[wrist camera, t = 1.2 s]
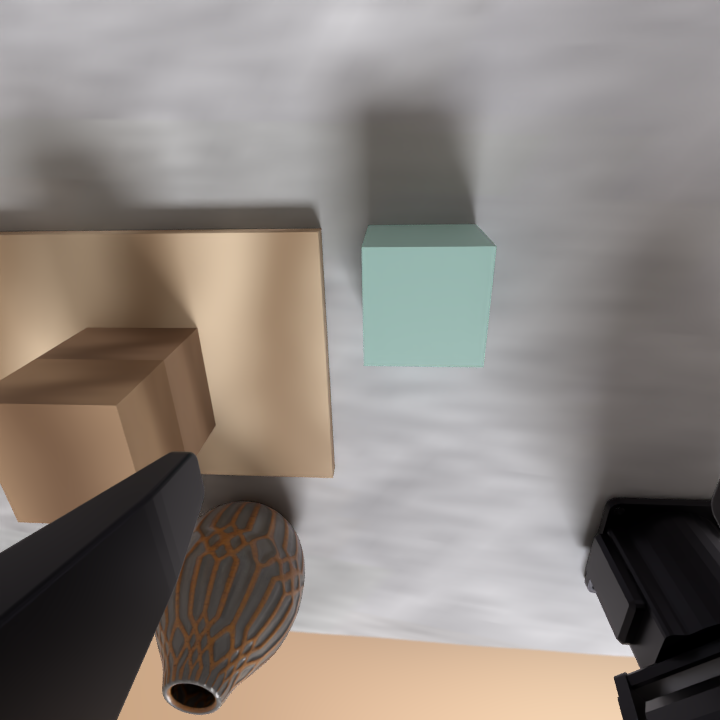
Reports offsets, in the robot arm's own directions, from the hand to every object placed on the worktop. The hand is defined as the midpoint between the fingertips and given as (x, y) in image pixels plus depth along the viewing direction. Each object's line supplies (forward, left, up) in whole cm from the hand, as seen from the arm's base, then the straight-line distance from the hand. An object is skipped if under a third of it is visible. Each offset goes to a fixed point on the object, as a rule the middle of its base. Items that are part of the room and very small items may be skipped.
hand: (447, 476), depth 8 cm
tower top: (+12, +4, -8) cm, 15 cm away
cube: (0, 0, -12) cm, 12 cm away
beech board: (+12, +4, -12) cm, 17 cm away
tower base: (+12, +4, -12) cm, 17 cm away
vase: (+9, +14, -12) cm, 21 cm away
